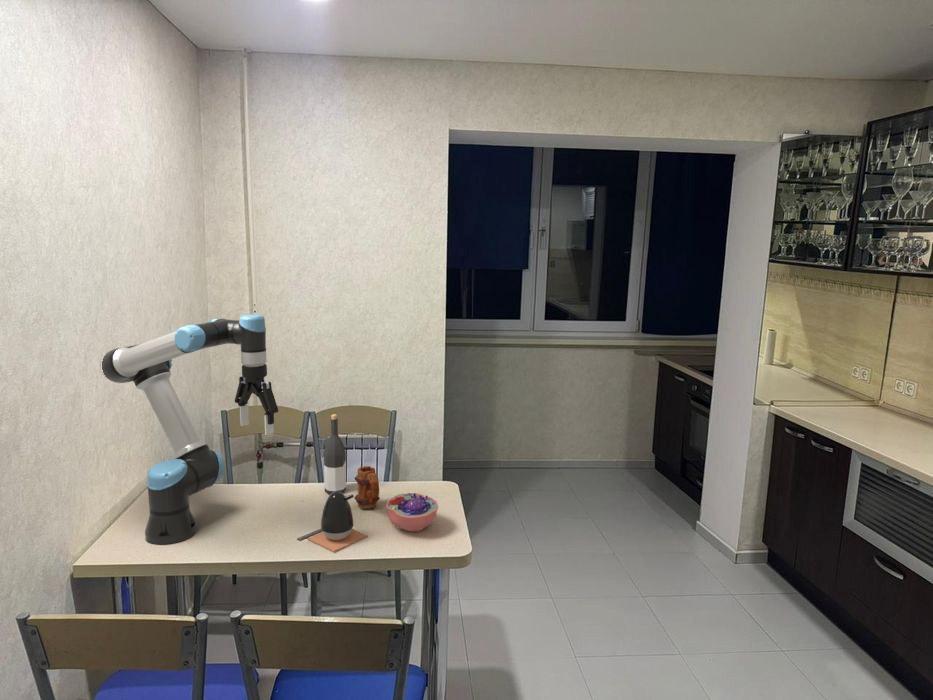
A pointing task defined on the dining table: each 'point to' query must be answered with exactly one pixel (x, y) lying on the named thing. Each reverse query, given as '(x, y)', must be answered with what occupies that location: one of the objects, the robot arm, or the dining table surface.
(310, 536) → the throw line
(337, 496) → the pump dispenser
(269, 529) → the dining table surface
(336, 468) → the wine bottle
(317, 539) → the mat
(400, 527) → the cell model
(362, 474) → the mug
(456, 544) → the dining table surface
